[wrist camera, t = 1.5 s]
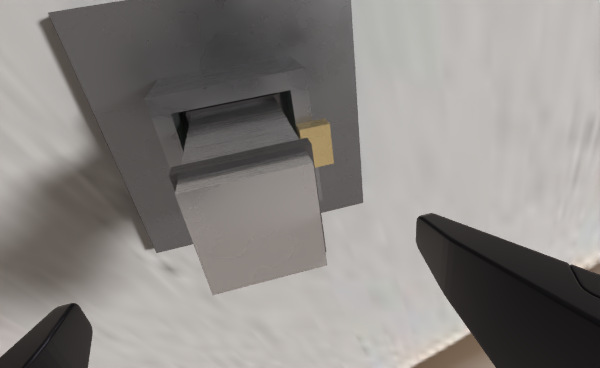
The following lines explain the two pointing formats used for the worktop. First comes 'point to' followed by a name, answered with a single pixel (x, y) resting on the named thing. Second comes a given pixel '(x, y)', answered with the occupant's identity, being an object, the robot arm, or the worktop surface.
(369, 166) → the worktop surface
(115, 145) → the stand base
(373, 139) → the worktop surface
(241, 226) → the gray rectangular plug
